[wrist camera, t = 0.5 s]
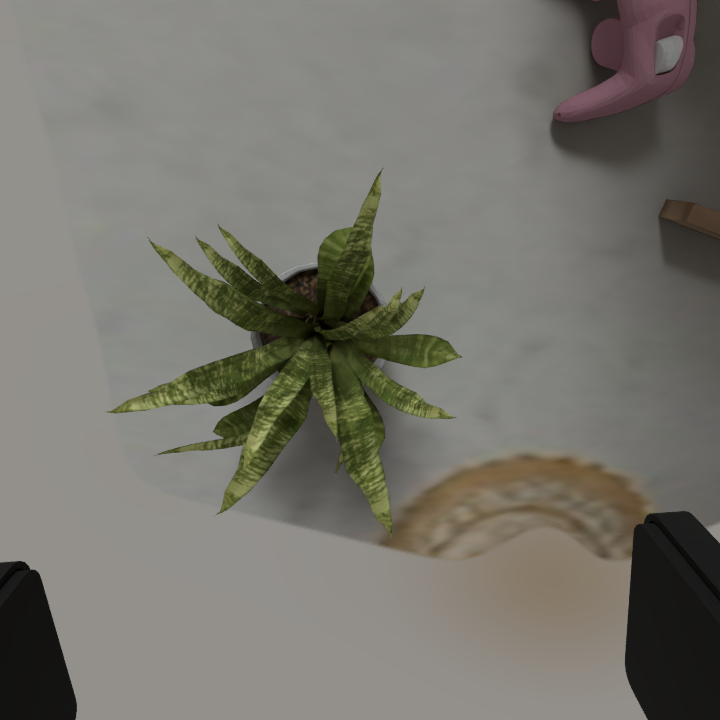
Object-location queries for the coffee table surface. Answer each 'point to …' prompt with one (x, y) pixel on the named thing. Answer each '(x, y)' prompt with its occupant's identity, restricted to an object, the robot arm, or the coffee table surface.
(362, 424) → the house plant
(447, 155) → the coffee table surface
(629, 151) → the coffee table surface
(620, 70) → the video game controller
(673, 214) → the dock bay
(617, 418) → the coffee table surface
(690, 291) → the coffee table surface
